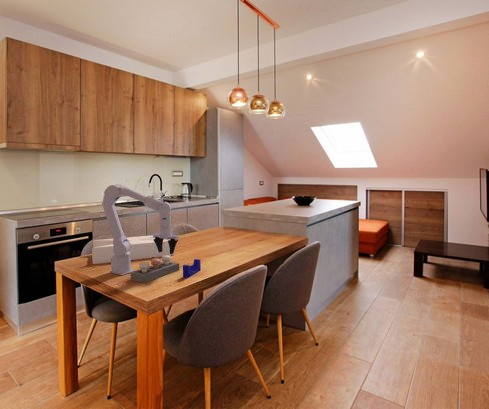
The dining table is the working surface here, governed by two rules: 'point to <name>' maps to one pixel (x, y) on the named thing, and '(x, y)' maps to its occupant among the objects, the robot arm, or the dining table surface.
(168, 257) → the knob far
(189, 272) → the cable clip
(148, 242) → the building model
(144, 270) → the knob near
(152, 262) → the knob middle
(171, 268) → the mount
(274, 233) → the dining table surface
